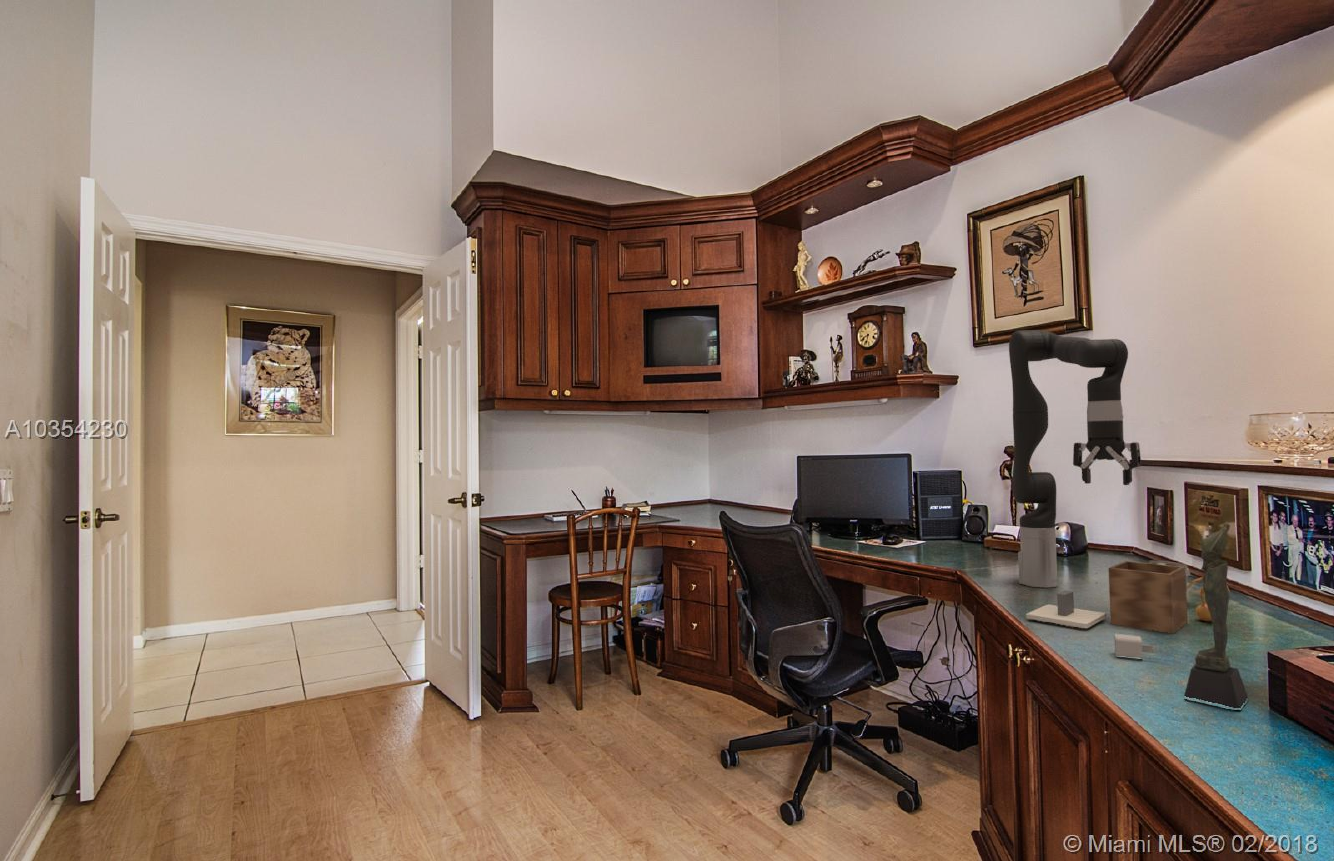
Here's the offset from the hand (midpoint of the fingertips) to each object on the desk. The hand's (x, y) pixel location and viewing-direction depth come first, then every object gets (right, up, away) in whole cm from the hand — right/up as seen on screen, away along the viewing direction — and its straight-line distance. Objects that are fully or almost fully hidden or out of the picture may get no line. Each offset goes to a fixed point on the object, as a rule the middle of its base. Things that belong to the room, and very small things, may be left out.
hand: (1106, 484), depth 169 cm
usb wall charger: (-16, -32, -34) cm, 50 cm away
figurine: (+16, -31, -12) cm, 37 cm away
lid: (-14, -31, -7) cm, 35 cm away
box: (+2, -32, -11) cm, 34 cm away
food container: (+22, -32, +6) cm, 39 cm away
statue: (-18, -32, -57) cm, 67 cm away
